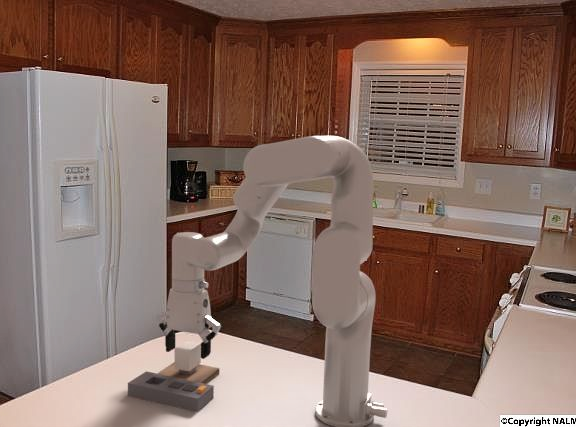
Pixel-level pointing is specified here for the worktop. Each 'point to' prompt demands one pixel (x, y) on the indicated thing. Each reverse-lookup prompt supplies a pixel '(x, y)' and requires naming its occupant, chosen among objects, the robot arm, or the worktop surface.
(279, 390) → the worktop surface
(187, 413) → the worktop surface
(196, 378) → the pad
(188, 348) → the block
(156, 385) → the power strip
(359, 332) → the robot arm
